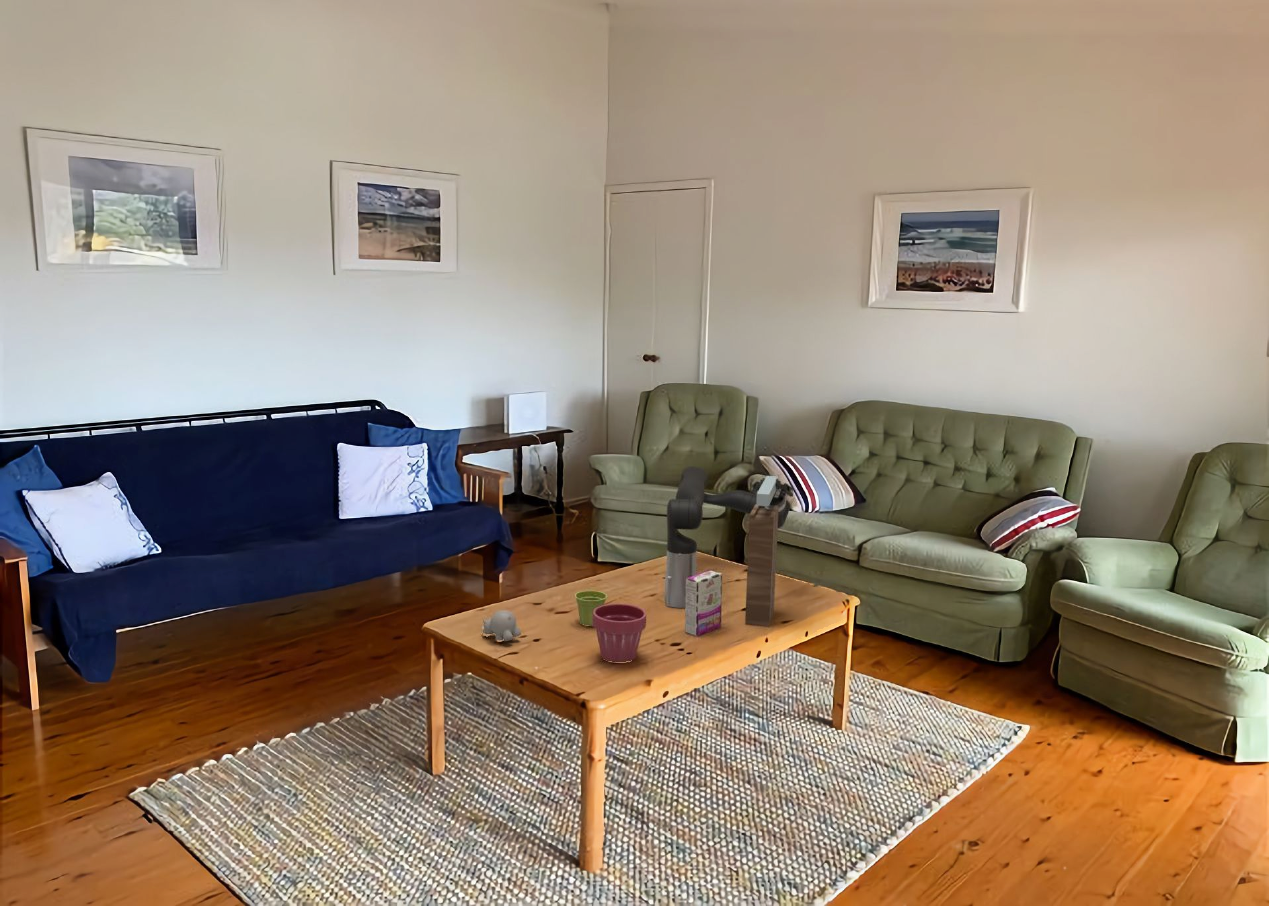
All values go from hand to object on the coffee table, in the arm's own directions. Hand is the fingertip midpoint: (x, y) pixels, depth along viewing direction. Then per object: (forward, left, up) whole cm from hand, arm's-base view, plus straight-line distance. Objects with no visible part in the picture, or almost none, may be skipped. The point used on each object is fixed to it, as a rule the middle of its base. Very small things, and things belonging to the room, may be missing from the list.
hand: (770, 481), depth 292 cm
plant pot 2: (-49, -40, -39) cm, 75 cm away
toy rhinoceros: (-82, -25, -39) cm, 94 cm away
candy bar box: (-23, -21, -39) cm, 50 cm away
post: (-4, -12, -39) cm, 41 cm away
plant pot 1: (-55, -14, -39) cm, 69 cm away
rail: (-2, -6, -3) cm, 7 cm away
